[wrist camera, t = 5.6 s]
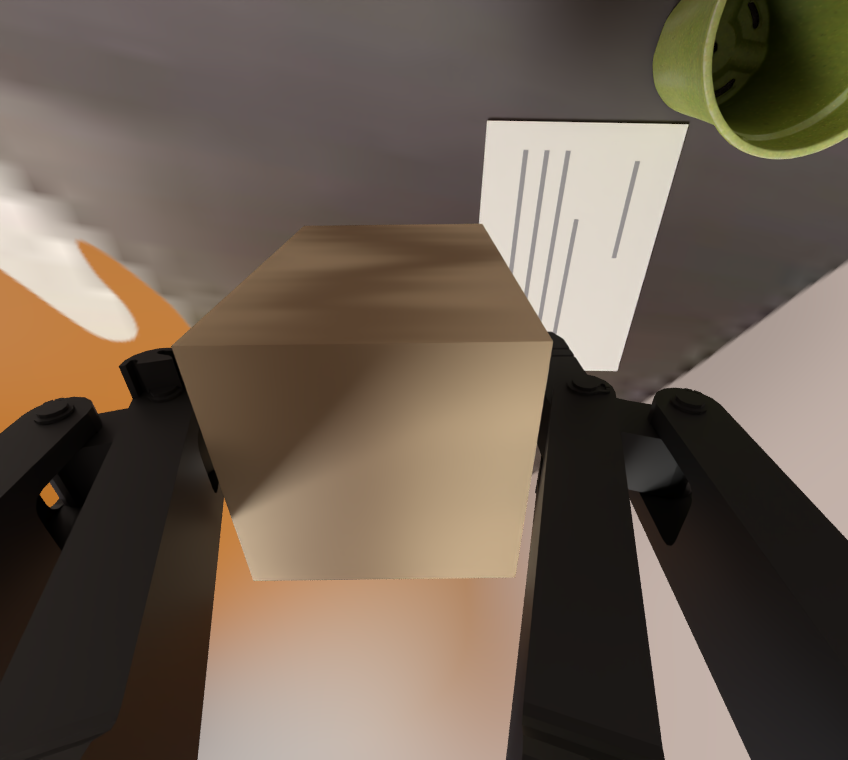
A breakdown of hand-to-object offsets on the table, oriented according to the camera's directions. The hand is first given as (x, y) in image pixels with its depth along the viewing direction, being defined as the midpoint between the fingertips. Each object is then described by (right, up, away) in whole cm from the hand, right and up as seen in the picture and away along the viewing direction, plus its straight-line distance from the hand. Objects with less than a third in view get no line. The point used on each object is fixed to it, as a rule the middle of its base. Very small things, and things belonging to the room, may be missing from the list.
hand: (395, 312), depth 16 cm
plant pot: (+17, +16, +9) cm, 25 cm away
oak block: (0, 0, +1) cm, 1 cm away
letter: (+11, +6, +15) cm, 19 cm away
